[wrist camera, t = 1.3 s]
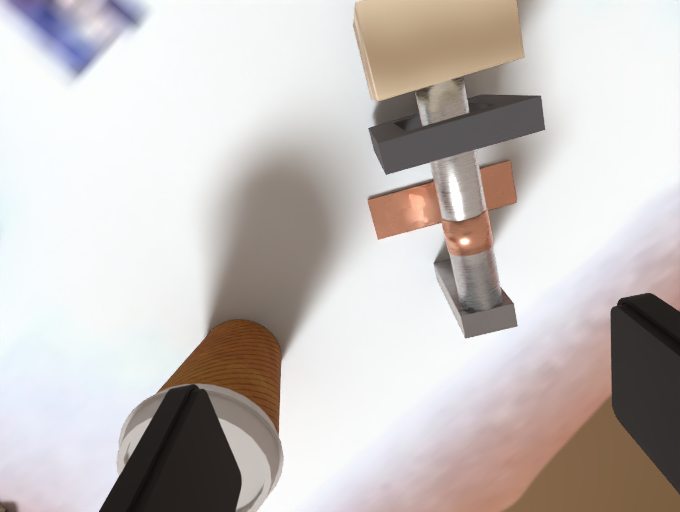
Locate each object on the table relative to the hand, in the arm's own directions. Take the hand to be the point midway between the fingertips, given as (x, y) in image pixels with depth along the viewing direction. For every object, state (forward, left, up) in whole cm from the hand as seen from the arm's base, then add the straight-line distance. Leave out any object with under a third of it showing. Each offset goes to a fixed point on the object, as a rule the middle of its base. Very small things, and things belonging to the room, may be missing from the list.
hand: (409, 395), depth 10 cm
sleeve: (-8, +5, -19) cm, 21 cm away
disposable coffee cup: (+10, -13, -22) cm, 28 cm away
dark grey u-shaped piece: (-3, +5, -22) cm, 23 cm away
